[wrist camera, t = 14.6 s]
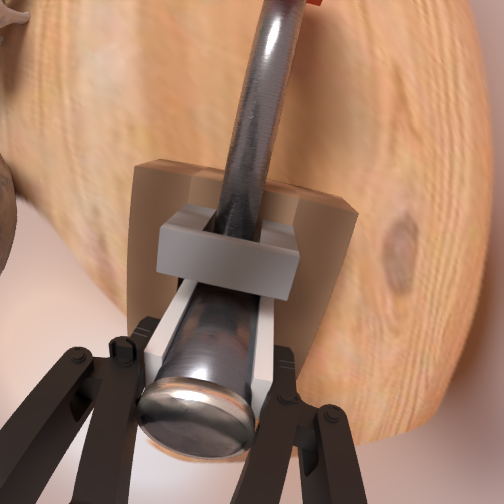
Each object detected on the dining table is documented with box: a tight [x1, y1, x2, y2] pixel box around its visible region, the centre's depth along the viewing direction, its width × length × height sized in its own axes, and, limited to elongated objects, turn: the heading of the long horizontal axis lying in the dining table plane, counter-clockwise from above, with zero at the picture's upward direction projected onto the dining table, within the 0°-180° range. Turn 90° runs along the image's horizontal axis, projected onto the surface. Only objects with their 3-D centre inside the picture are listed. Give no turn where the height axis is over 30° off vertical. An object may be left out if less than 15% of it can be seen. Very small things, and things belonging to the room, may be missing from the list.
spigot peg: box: [135, 282, 260, 460], centre depth 15 cm, size 4×4×12 cm
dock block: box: [127, 159, 359, 380], centre depth 17 cm, size 12×14×8 cm
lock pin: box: [213, 0, 322, 241], centre depth 11 cm, size 4×18×7 cm, turn 168°
